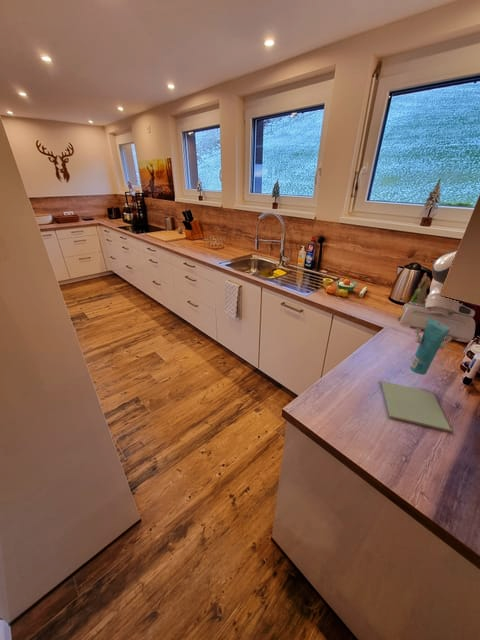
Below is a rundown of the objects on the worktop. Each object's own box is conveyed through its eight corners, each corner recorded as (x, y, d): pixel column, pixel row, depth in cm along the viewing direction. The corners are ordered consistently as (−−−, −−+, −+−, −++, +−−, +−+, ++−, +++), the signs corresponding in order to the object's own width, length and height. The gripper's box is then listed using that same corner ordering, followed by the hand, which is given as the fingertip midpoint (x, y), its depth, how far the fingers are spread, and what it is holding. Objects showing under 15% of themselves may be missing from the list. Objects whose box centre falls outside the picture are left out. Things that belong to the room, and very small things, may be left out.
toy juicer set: (324, 295, 162) (326, 283, 158) (321, 285, 177) (323, 274, 174) (373, 300, 157) (376, 288, 154) (366, 289, 173) (369, 278, 169)
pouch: (408, 327, 130) (428, 279, 118) (392, 316, 140) (408, 271, 128) (427, 326, 132) (448, 279, 120) (409, 315, 142) (427, 270, 130)
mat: (432, 394, 89) (433, 392, 89) (450, 432, 75) (451, 430, 75) (381, 383, 93) (381, 381, 92) (389, 417, 79) (390, 415, 79)
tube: (432, 375, 90) (456, 326, 80) (422, 378, 88) (445, 329, 79) (413, 362, 96) (433, 316, 87) (403, 365, 94) (423, 318, 85)
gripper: (407, 297, 91) (395, 333, 88) (481, 312, 82) (471, 353, 79) (403, 304, 97) (393, 338, 94) (473, 319, 87) (463, 358, 84)
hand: (429, 345), depth 86 cm, fingers closed on tube, 5 cm apart
